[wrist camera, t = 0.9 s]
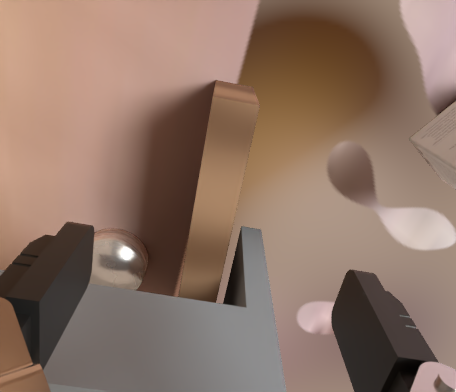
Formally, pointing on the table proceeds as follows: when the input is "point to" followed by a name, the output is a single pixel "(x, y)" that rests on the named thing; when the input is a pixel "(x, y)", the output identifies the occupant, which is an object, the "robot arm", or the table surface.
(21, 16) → the table surface
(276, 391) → the low cabinet
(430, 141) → the skincare box
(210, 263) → the copper bar
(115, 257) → the silver rounded piece
